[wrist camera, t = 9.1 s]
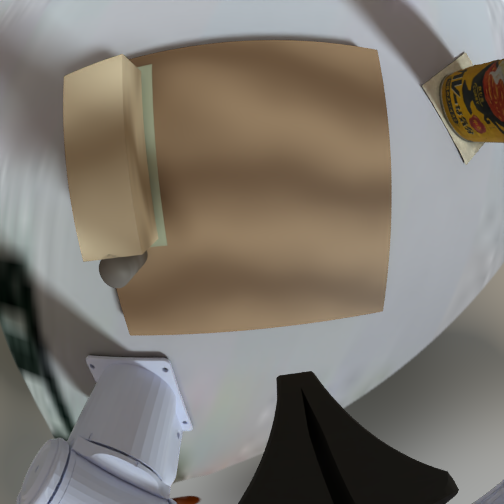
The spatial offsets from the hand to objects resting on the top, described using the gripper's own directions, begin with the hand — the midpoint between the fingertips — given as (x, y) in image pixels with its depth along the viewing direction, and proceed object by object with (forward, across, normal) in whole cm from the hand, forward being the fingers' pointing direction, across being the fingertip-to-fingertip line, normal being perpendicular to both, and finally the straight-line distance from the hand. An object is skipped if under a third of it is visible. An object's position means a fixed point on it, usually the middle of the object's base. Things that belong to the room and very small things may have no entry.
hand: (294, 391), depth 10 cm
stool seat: (+9, +1, -7) cm, 12 cm away
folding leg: (+7, +8, -9) cm, 14 cm away
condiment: (+10, -18, -14) cm, 25 cm away
